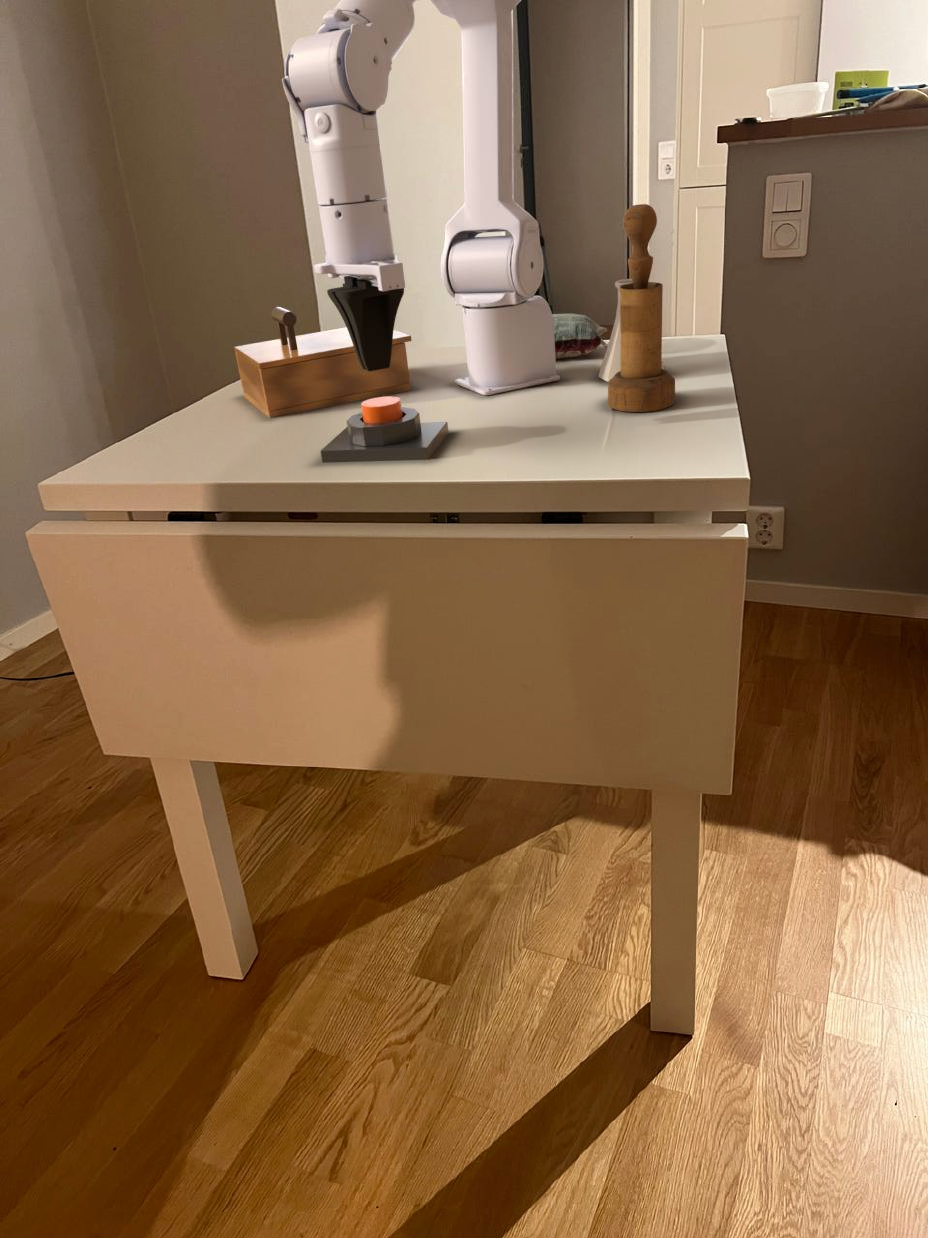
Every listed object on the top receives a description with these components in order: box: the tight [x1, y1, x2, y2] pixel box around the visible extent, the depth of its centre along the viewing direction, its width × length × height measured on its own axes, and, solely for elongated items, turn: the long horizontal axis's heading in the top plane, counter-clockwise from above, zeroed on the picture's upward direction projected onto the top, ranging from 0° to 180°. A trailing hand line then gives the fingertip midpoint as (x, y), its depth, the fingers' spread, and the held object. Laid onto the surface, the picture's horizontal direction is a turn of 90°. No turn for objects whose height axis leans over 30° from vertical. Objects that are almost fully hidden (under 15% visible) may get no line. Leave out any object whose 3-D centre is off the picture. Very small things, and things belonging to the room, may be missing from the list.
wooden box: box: [235, 342, 412, 419], centre depth 107 cm, size 17×13×5 cm
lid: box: [233, 306, 413, 369], centre depth 104 cm, size 17×13×5 cm
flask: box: [597, 278, 666, 383], centre depth 99 cm, size 7×7×10 cm
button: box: [360, 396, 403, 423], centre depth 84 cm, size 4×4×2 cm
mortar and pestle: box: [607, 203, 676, 413], centre depth 87 cm, size 7×6×18 cm
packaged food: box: [552, 313, 608, 360], centre depth 113 cm, size 9×12×5 cm
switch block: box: [319, 406, 450, 464], centre depth 85 cm, size 10×8×3 cm
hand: (376, 368), depth 82 cm, fingers closed
